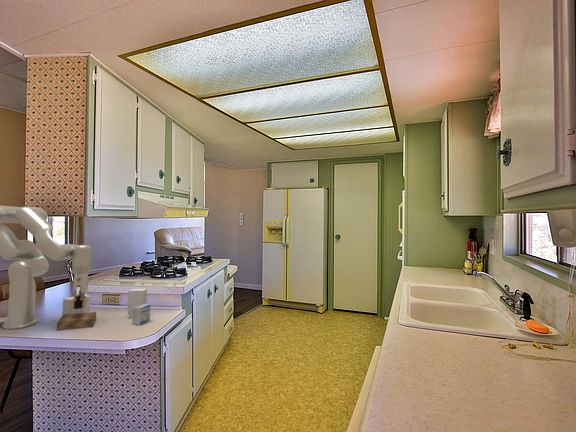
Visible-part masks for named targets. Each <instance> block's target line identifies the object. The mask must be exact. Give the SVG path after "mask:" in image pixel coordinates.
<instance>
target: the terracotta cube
mask: <svg viewBox="0 0 576 432" xmlns="http://www.w3.org/2000/svg"><path fill="white" fill-rule="evenodd" d="M87 296H88V295H87ZM87 296H82V300H83V303H82V308H80V309H83V308H85V307H86V300H87ZM73 297H74V298H73V302H72V309H74V301H75V296H73Z"/></svg>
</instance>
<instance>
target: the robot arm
mask: <svg viewBox="0 0 576 432" xmlns="http://www.w3.org/2000/svg"><path fill="white" fill-rule="evenodd" d="M48 216H49V215H48V212H47V211H46V210H44V208H42V207H37V206H28V205H27V206H8V205H0V257H2V259H4V260H6V261H13V260H14V261H13V262H11V264H9V267H8V269H7V272H8V280H9V290H8V291H9V293H8V304H7V305H8V306H7V307H8V310H7V316H5V317H0V324H1V323H3V324H2V326H1V327H2V328H3V329H6V330H12V329H13V330H14V329H15V330H16V329H22V328H27V327H32V326H33V325H34V326H35V325H37V323H38V320H39V319H37V318H35V309H36V308H35V306H36V293H37V292H36V291H37V284H36V281H35V279H34V278H35V277H38V276H39V277H40V276H41V275H45V274H46V273H47V272H48V271H49V268H50V265H49V261H48V259H50V260H52V261H54V262H58V261H59V262H60V261H67V260H72V261H71V274H72V275H73V284H72V285H73V286H72V287H73V291H72V292H73V294H74V295H75V296H74V297H75V301H74V309H80V308H82V303H83V300H82V296H84V295H86V293H87V292H89V291H88V290H89V274H90V273H91V260H92V259H91V258H92V247H91V245H90V244H72V243H67V244H59V243H58V242H56V241H55V240H54V239H53V237H52V236H51V233H52V232H53V231H54V226H53V225H52V224H51V223H50V222H49V221H48V218H49V217H48ZM5 224H20V225H21V226H22V227H23V228H24V229H26V230H27V231H28V232H29V233H30V234H31V235H32V236H33V237H34V240H35V242H33V241H32V240H29V239H19V238H18V237H16V235H15V233H14V232H13V231H12V230H11V229H10V228H9V227H8V226H6V225H5ZM45 256H46V257H47V258H48V259H47V258H46V257H45Z"/></svg>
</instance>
